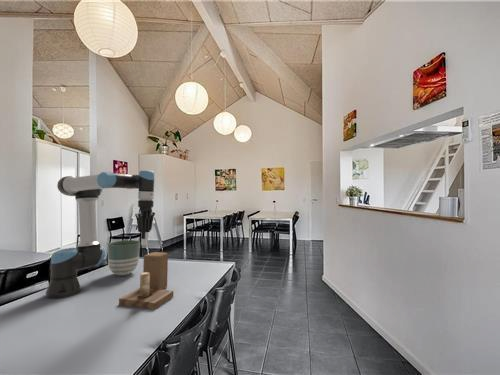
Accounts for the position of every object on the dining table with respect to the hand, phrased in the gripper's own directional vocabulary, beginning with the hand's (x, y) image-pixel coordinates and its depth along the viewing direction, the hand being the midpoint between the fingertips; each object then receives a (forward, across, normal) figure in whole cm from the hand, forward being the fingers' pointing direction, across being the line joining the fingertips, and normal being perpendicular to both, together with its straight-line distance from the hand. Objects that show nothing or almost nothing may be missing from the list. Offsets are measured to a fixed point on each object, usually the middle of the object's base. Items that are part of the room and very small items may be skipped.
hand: (144, 244), depth 133 cm
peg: (+27, -5, -5) cm, 28 cm away
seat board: (+27, -3, -5) cm, 28 cm away
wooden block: (+28, +12, +1) cm, 30 cm away
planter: (+28, +30, +39) cm, 57 cm away
